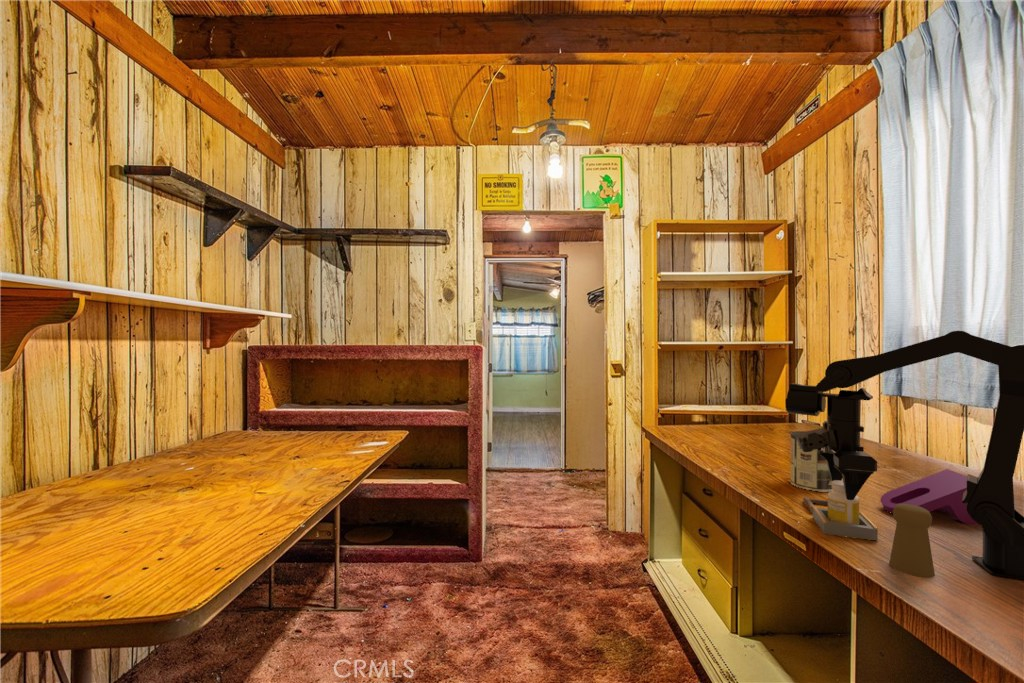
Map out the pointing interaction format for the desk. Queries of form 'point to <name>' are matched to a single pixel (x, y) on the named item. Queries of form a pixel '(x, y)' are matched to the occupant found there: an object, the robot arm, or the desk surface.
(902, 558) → the cork
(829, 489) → the coffee can
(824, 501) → the frame
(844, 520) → the supplement bottle
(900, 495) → the mounting bracket
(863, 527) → the socket plate
